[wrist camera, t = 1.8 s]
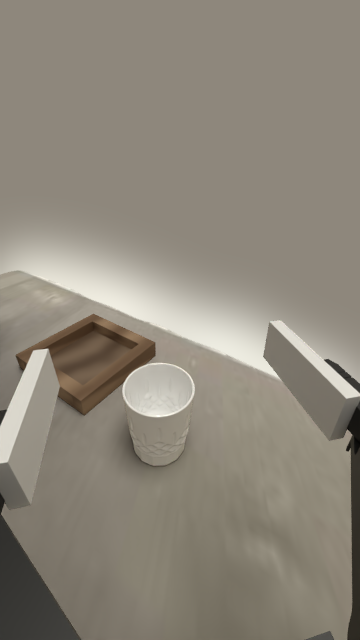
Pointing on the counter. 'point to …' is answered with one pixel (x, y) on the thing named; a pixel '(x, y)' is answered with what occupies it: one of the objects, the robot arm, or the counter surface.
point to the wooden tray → (92, 359)
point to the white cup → (158, 411)
